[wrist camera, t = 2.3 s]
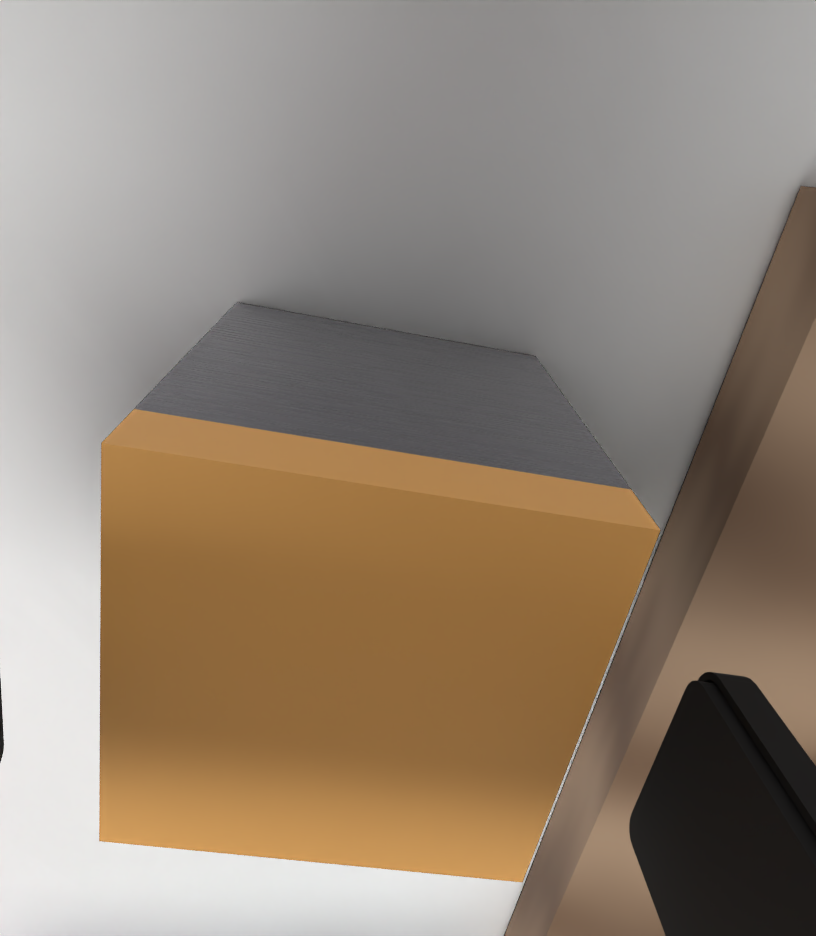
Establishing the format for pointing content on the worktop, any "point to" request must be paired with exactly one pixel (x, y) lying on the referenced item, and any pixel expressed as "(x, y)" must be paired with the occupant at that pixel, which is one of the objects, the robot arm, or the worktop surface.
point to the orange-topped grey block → (354, 598)
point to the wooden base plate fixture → (703, 606)
